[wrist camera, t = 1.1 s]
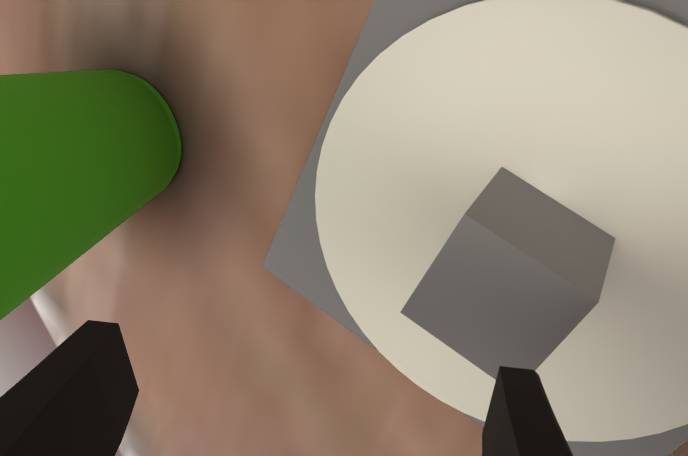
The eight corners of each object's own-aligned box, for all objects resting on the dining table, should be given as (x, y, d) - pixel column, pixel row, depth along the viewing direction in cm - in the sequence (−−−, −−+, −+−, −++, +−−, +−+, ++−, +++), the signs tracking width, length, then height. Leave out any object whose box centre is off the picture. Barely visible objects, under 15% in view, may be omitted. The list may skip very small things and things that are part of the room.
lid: (981, 186, 13) (1078, 278, 10) (592, 493, 22) (572, 602, 18) (441, -110, 16) (372, -117, 13) (276, 264, 24) (206, 322, 21)
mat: (1021, 175, 13) (1029, 181, 13) (598, 501, 22) (596, 509, 22) (439, -139, 16) (434, -140, 16) (267, 261, 25) (261, 266, 24)
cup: (107, -38, 22) (-271, -8, 14) (265, 157, 23) (-6, 308, 14) (28, 111, 28) (-278, 200, 19) (156, 267, 28) (-88, 424, 19)
